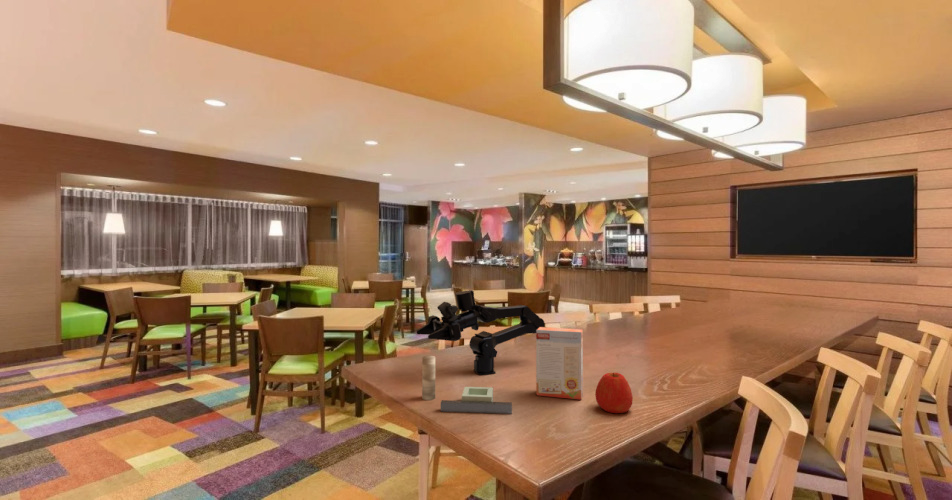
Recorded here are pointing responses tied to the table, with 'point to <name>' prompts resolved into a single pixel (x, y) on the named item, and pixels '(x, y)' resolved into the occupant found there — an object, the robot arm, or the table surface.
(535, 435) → the table surface
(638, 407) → the table surface
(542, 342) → the cracker box
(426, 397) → the birch dowel
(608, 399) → the apple
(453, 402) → the rail
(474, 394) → the socket block
